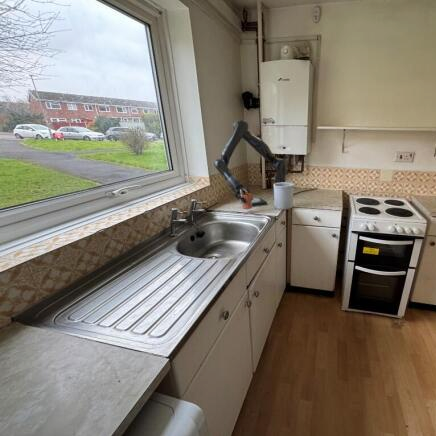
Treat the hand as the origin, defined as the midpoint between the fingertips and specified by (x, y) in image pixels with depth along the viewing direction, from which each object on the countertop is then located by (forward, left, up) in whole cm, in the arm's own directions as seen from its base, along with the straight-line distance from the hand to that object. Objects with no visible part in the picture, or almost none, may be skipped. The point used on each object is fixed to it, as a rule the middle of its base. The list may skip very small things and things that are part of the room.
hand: (248, 201), depth 160 cm
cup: (+1, -1, -5) cm, 5 cm away
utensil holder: (-27, +1, -8) cm, 28 cm away
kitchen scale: (-11, -19, -8) cm, 24 cm away
